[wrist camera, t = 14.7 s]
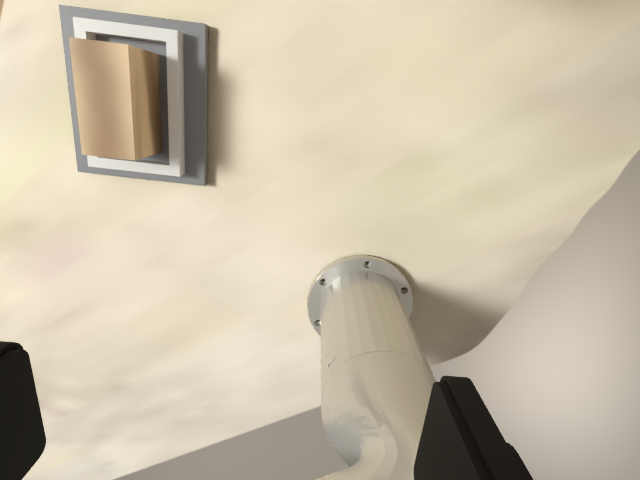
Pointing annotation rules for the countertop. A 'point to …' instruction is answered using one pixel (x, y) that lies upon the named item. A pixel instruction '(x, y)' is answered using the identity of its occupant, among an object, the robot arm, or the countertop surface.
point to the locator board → (175, 84)
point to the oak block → (117, 99)
